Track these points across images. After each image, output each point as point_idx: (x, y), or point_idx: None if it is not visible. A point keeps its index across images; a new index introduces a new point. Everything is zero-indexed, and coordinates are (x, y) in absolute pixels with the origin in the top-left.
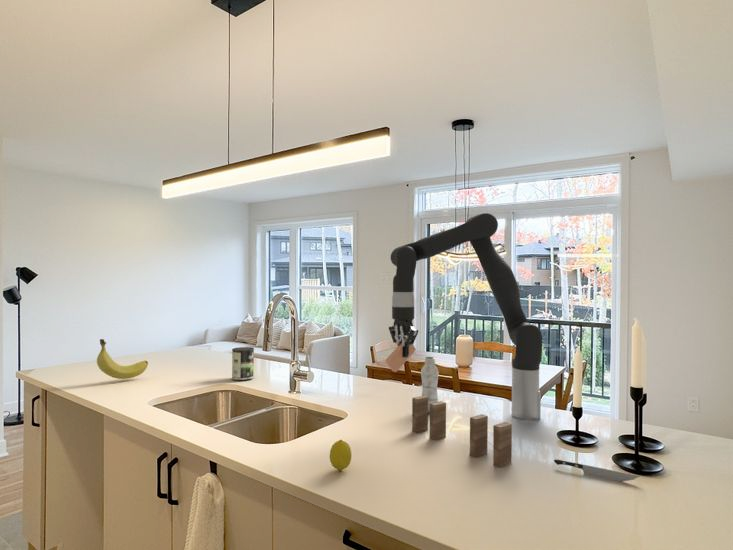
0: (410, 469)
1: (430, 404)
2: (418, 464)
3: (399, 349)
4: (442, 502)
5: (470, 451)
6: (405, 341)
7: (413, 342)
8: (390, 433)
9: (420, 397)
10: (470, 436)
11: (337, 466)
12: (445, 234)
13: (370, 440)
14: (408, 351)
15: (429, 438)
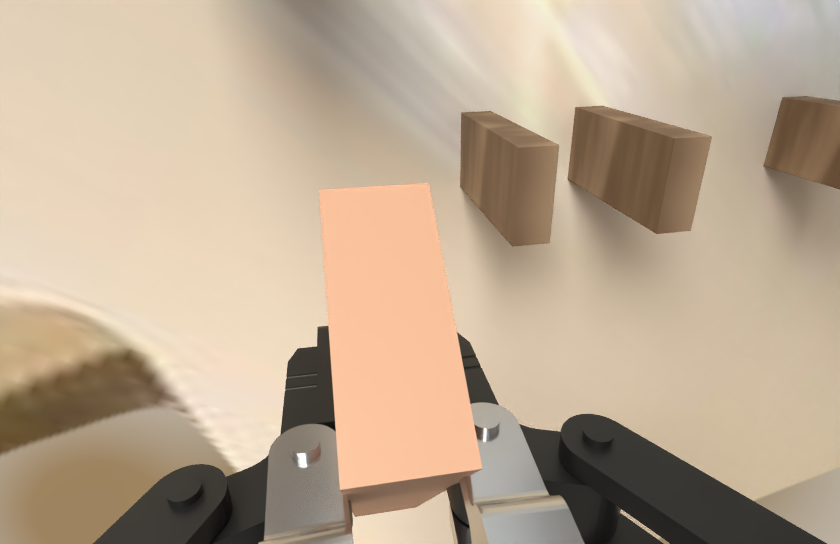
0: (675, 369)
1: (660, 232)
2: (672, 336)
3: (432, 494)
4: (816, 393)
5: (783, 170)
6: (428, 485)
7: (643, 446)
8: None
9: (537, 197)
10: (833, 186)
11: None
12: None
13: None
14: (477, 367)
15: (570, 180)
